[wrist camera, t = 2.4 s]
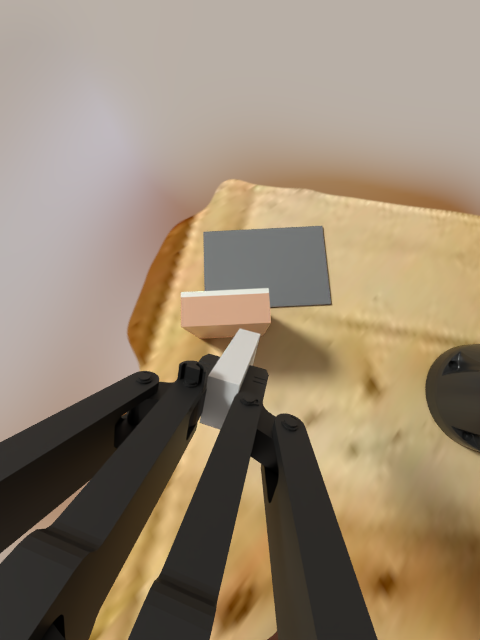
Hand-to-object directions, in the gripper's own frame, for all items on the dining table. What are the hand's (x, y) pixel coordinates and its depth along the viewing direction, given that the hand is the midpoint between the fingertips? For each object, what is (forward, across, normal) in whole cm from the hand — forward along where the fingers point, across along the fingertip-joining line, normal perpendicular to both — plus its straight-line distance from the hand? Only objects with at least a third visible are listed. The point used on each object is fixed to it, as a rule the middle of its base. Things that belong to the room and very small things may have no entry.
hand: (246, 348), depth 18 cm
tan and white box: (+21, +5, +7) cm, 23 cm away
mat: (+27, +3, -2) cm, 27 cm away
